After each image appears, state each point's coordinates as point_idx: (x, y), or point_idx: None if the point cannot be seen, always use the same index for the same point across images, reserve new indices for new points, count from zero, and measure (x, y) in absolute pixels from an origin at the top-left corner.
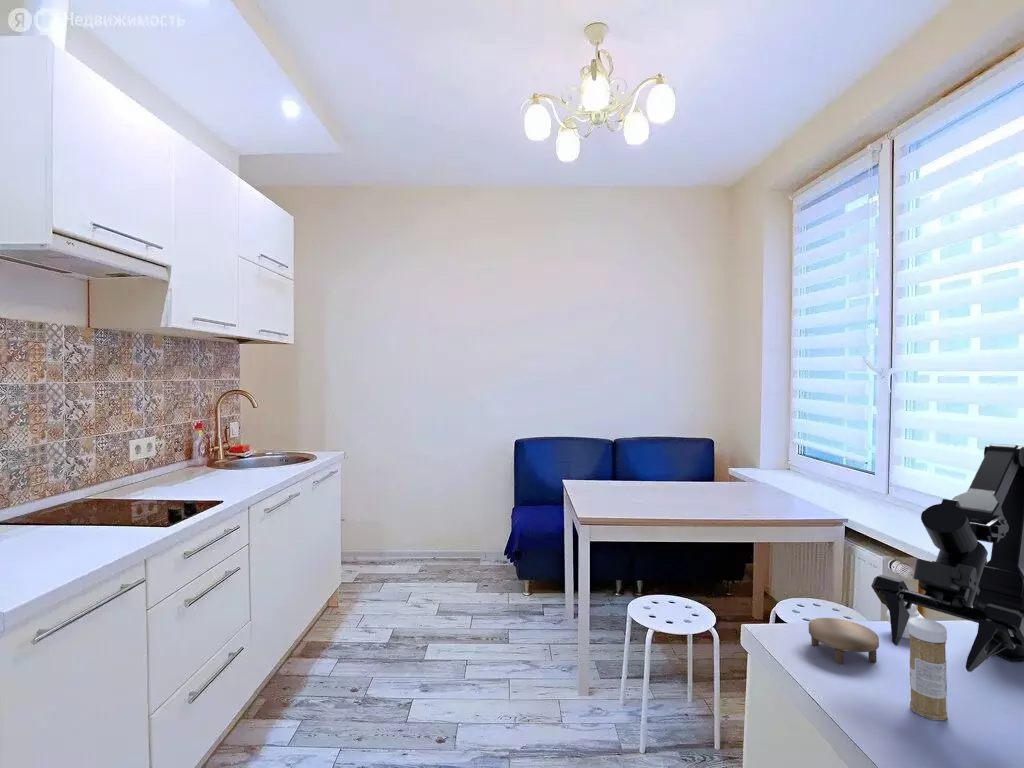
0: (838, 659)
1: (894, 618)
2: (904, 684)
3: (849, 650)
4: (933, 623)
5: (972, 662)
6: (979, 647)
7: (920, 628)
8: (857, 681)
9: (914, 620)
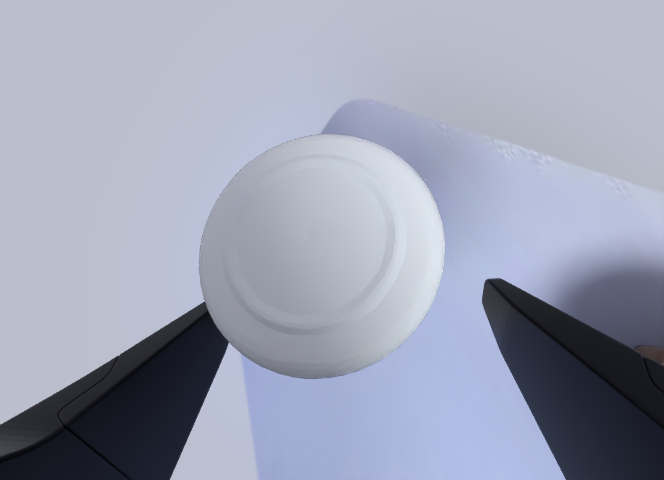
0: (653, 348)
1: (631, 371)
2: (464, 393)
3: (662, 364)
4: (276, 286)
5: (197, 306)
6: (122, 360)
7: (311, 138)
8: (528, 291)
9: (389, 202)
